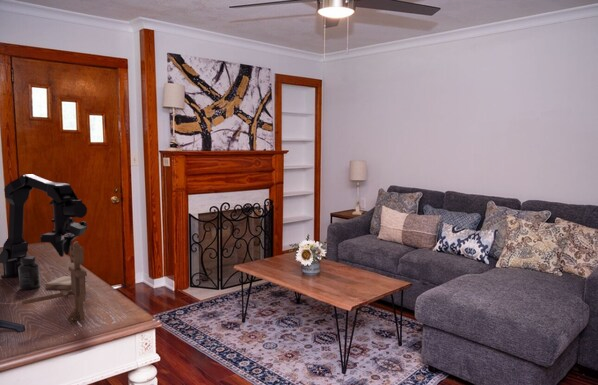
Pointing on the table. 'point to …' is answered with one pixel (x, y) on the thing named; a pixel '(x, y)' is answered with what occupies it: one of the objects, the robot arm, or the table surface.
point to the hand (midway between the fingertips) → (64, 255)
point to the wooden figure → (76, 283)
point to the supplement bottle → (29, 273)
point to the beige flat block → (60, 283)
